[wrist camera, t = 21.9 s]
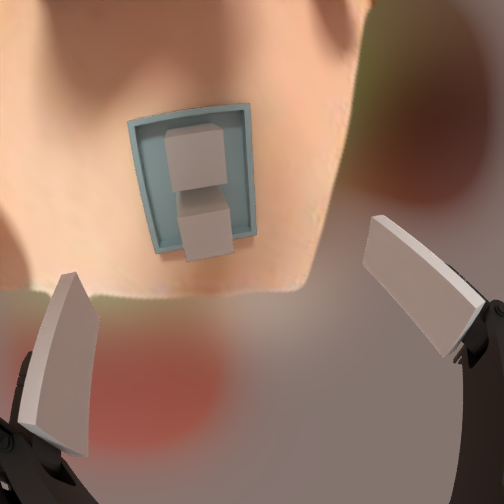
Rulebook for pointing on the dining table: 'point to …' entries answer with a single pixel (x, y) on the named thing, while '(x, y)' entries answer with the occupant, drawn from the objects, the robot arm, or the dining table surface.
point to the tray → (158, 178)
